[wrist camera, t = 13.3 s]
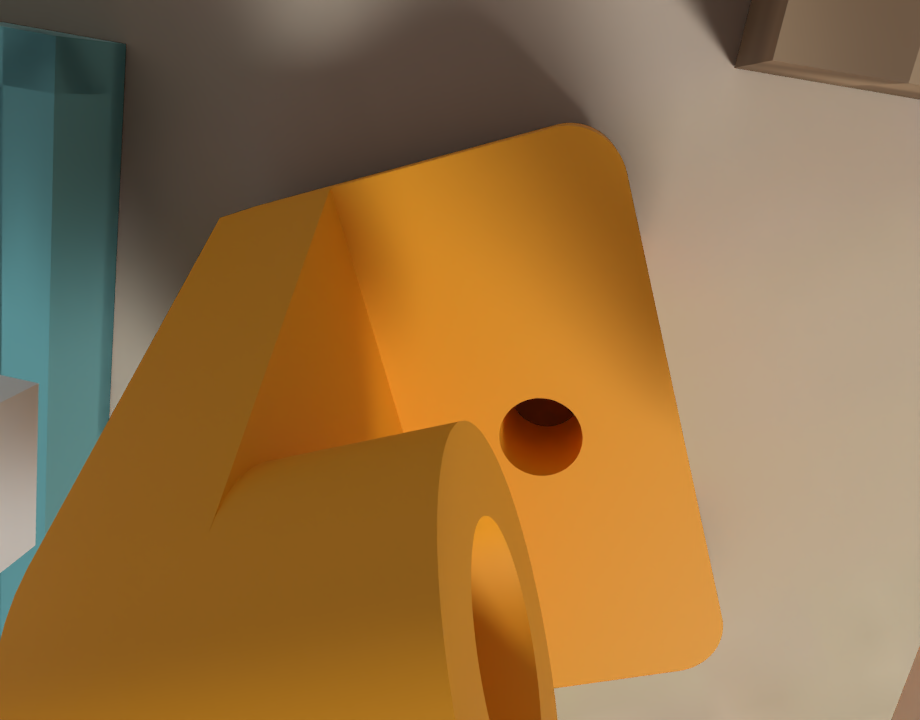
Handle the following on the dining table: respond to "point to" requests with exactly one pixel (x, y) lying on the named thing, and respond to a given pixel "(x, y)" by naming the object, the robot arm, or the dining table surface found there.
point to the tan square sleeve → (836, 43)
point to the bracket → (384, 466)
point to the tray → (58, 247)
